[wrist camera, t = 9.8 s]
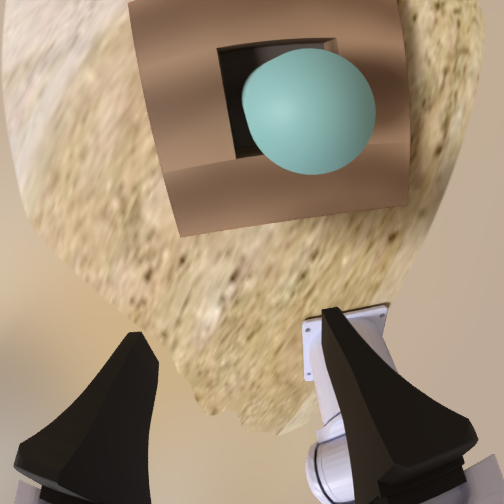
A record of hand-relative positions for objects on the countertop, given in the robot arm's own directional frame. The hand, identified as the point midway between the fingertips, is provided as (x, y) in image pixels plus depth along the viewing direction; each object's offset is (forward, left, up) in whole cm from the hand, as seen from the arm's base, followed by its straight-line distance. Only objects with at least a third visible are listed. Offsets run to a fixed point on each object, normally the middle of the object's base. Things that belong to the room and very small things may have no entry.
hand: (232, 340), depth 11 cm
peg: (+8, -4, -10) cm, 13 cm away
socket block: (+8, -4, -10) cm, 14 cm away
